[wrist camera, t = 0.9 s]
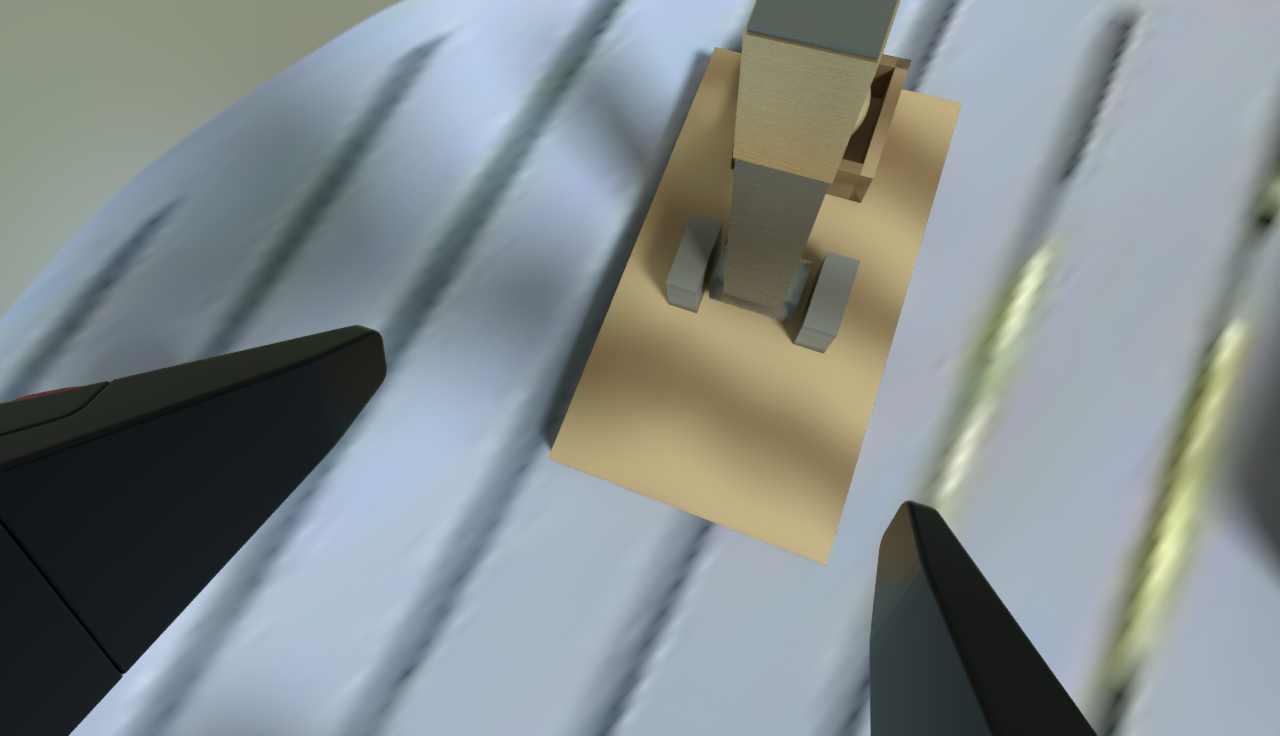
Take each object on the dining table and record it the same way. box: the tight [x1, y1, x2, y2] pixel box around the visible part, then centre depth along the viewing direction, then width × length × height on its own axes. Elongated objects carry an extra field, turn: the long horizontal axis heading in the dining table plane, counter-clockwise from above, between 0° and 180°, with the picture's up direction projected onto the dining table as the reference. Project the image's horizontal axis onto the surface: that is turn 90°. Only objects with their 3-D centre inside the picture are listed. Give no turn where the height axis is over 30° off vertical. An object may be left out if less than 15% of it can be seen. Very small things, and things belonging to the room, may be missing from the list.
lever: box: [709, 0, 900, 323], centre depth 16 cm, size 5×3×14 cm, turn 159°
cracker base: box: [549, 47, 962, 565], centre depth 23 cm, size 20×11×4 cm, turn 159°
